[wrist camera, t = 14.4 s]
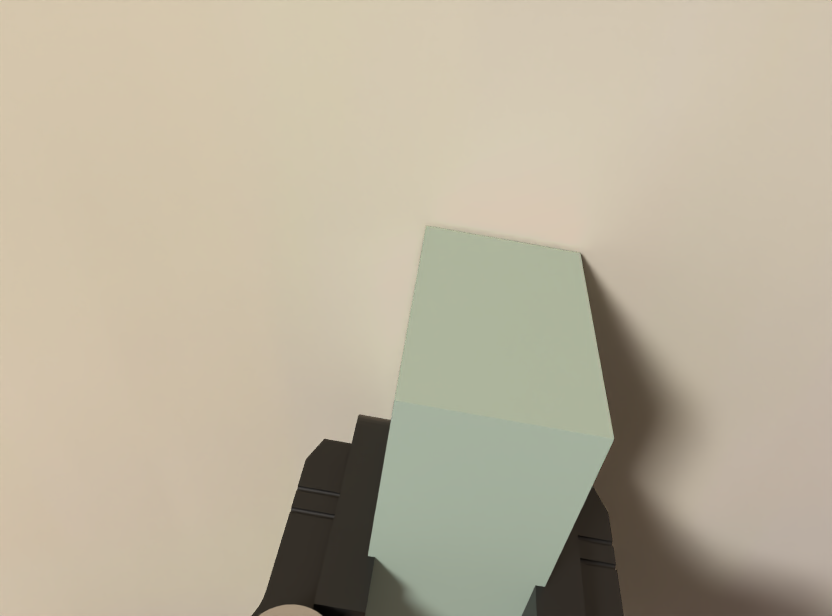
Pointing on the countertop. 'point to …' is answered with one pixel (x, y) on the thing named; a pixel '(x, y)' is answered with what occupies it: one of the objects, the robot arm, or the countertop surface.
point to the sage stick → (487, 429)
